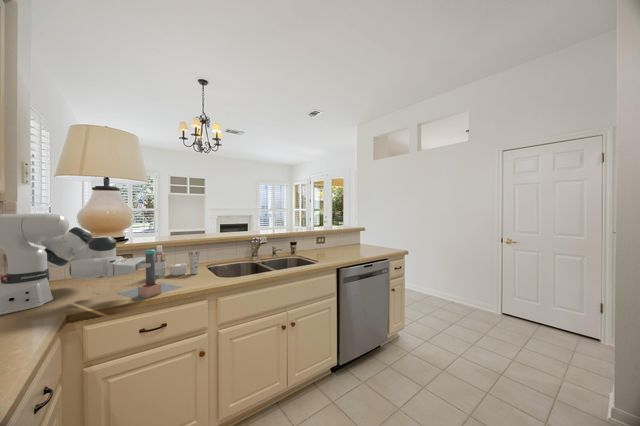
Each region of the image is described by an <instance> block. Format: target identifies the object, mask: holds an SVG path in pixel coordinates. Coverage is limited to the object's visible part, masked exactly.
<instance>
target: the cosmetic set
mask: <svg viewBox="0 0 640 426" xmlns="http://www.w3.org/2000/svg"><path fill="white" fill-rule="evenodd" d="M187 253H188V254H187V255H188V259H189V269H190V270H189V273H190V275H197V274H198V273H199V259H200V253H201V250H189V251H187ZM187 265H188V264H187V263H186V262H185V263H183V262H180V263H172V264H170V265H169V266H168V267H169V270H168V271H169V274H170V275H171V276H173V277H174V276H176V277H179V276H184V275H185V274H186V273H187V270H188V266H187ZM166 276H167V256H166V254H165V253H164V251H163V246H162V245H156V251H155V278H163V277H166Z"/></svg>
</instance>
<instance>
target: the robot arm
mask: <svg viewBox="0 0 640 426" xmlns="http://www.w3.org/2000/svg"><path fill="white" fill-rule="evenodd" d="M32 244H33V245H32ZM35 245H36V246H35ZM38 246H39V247H38ZM40 246H42V247H44V248H45V249H43V248H41V247H40ZM0 248H1V250H3V252H4V254H5V256H6V261H7V273H6V274H0V316H2V315H6V314H10V313H15V312H19V311H24V310H29V309H34V308H38V307H42V306H43V305H45V304H46V303H49V302H51V301H53V300H54V295H52V294H53V293H52V292H51V289H50V284H49V281H50V269H49V268H48V264H49V265H51V266H54V267H55V266H56V267H58V266H59V267H63V266H65V265H67V264H68V263H69V262H70V261H71V262H70V264H69V268H68V269H69V270H68V272H69V276H70V277H71V278H72V279H100V278H108V279H113V278H115V277H120V276H127V275H132V274H135V273H136V272H137V271H138V270H140V269H146V267H151V263H146V259H145V256H140V257H130V258H124V256H122V255H119V256H118V255H117V239H115V238H114V237H113V236H109V235H99V236H96V237H94V238H93V235H92V234H91V233H90V231H88V230H87V229H86V228H83V227H78V226H77V227H76V226H75V227H71V228H70V221H69V220H68V219H67V217H65V216H64V215H62V214H55V213H1V214H0Z"/></svg>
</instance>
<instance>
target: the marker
mask: <svg viewBox="0 0 640 426" xmlns="http://www.w3.org/2000/svg"><path fill="white" fill-rule="evenodd" d="M144 252H145V253H144V255H145V256H144V257H145V259H146V263H151V267H146V268H145V284H146V285H153V284H155V283H156V277H155V254H156V250H155V249H146V250H144Z"/></svg>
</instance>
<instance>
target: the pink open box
mask: <svg viewBox="0 0 640 426" xmlns="http://www.w3.org/2000/svg"><path fill="white" fill-rule="evenodd" d="M137 288H138V296H141V297H145V298H146V299H148V297H149V298H152V297H155V296H159V295H162V294H161V284H159V283H158V282H155V284H153V285H146V283H145V284H140V285H138V286H137ZM154 295H155V296H154ZM151 296H152V297H151Z"/></svg>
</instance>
